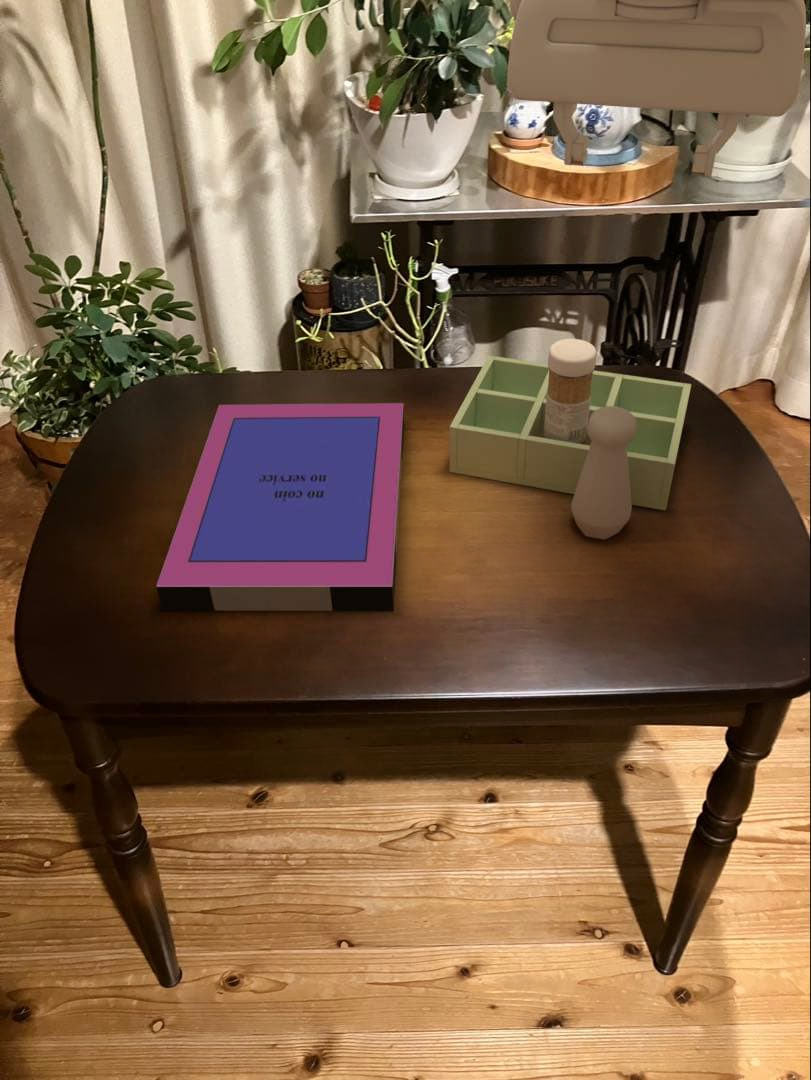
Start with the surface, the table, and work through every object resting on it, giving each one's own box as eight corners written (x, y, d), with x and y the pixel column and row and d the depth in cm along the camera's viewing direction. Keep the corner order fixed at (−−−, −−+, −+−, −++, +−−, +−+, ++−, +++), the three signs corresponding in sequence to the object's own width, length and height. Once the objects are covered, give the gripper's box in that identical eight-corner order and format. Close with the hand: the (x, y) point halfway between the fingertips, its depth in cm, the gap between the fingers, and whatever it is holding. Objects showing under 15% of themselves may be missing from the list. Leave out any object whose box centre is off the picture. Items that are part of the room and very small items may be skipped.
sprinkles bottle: (573, 446, 99) (585, 333, 90) (590, 470, 95) (604, 355, 87) (533, 453, 98) (542, 340, 89) (549, 477, 95) (559, 363, 86)
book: (403, 403, 103) (392, 586, 80) (404, 425, 105) (393, 610, 82) (219, 404, 104) (156, 586, 81) (223, 426, 106) (163, 610, 83)
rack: (682, 428, 102) (691, 383, 99) (665, 510, 92) (674, 464, 88) (487, 398, 109) (488, 355, 105) (449, 472, 98) (449, 426, 94)
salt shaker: (626, 509, 92) (644, 398, 83) (631, 546, 88) (650, 433, 79) (567, 506, 92) (579, 396, 84) (569, 543, 88) (582, 431, 80)
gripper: (500, -43, 60) (493, 170, 69) (830, -35, 55) (776, 195, 64) (522, -58, 65) (513, 144, 74) (829, -52, 59) (779, 165, 68)
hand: (637, 168), depth 69 cm, fingers open, 8 cm apart
